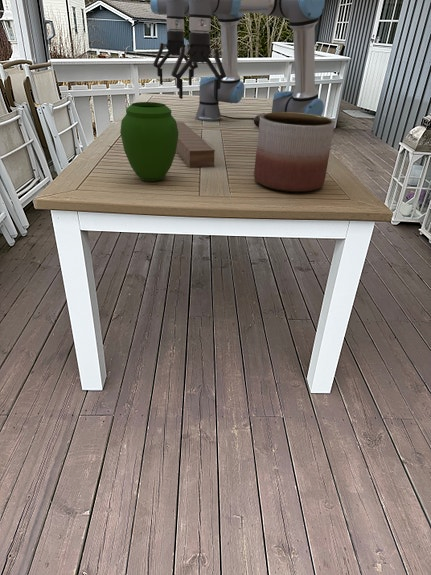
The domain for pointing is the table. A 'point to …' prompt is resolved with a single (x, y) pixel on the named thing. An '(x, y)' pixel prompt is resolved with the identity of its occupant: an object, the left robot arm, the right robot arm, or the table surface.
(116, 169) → the table surface
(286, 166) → the planter
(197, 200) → the table surface
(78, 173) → the table surface
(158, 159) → the vase
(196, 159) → the narrow beam
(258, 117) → the seashell
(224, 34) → the left robot arm
